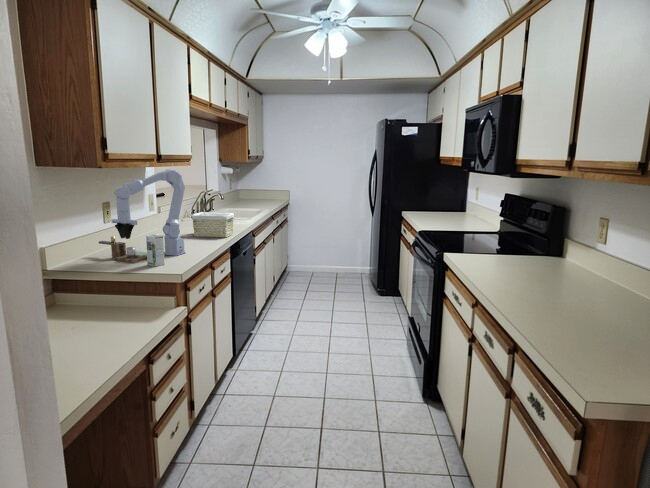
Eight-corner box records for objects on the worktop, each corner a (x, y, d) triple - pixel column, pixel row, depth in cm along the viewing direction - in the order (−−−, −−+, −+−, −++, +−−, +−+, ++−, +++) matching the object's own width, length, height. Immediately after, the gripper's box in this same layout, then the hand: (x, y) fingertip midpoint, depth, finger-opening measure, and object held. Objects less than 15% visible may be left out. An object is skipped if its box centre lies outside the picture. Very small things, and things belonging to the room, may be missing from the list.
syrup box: (147, 265, 198) (145, 235, 195) (157, 262, 203) (156, 233, 200) (154, 266, 195) (152, 236, 192) (165, 264, 200) (163, 234, 197)
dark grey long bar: (123, 245, 210) (123, 237, 209) (119, 246, 208) (119, 238, 207) (102, 242, 215) (102, 234, 214) (98, 243, 212) (98, 235, 211)
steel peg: (137, 259, 209) (137, 247, 208) (131, 260, 206) (130, 248, 204) (131, 258, 211) (130, 246, 209) (125, 259, 207) (124, 248, 206)
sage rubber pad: (151, 253, 221) (151, 253, 221) (140, 256, 214) (139, 256, 214) (138, 252, 224) (138, 251, 224) (126, 255, 217) (126, 254, 217)
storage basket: (191, 237, 270) (190, 214, 267) (201, 232, 285) (200, 211, 282) (227, 238, 267) (226, 215, 264) (235, 234, 283) (234, 212, 280)
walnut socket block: (148, 258, 211) (147, 244, 209) (133, 262, 201) (132, 247, 200) (124, 255, 216) (123, 241, 215) (108, 259, 207) (106, 244, 205)
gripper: (105, 211, 203) (107, 238, 206) (128, 213, 198) (130, 241, 201) (117, 209, 210) (119, 236, 212) (139, 211, 205) (141, 238, 207)
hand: (125, 238), depth 207 cm, fingers open, 3 cm apart
